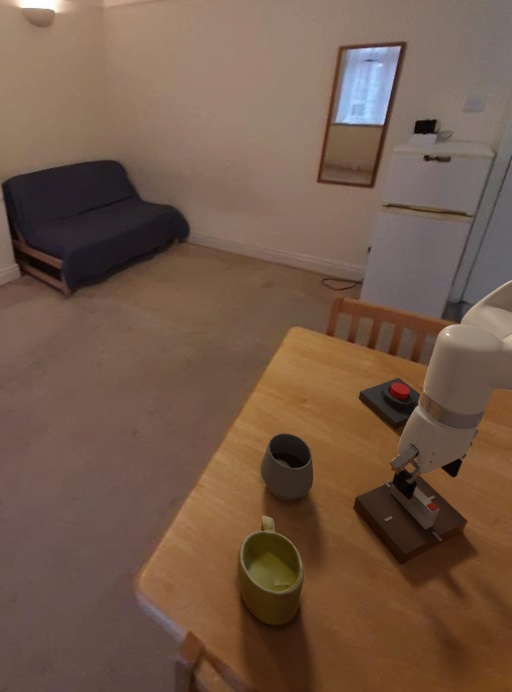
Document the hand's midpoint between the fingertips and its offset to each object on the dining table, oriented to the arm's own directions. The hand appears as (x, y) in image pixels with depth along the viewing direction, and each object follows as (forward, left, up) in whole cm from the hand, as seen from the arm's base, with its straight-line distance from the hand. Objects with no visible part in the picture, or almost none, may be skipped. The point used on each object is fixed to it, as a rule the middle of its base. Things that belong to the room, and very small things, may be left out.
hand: (424, 480), depth 67 cm
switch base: (+1, 0, -11) cm, 10 cm away
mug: (+29, -1, -11) cm, 31 cm away
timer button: (-19, -20, -7) cm, 29 cm away
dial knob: (+1, 0, -7) cm, 7 cm away
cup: (+17, -13, -11) cm, 24 cm away
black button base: (-19, -20, -11) cm, 30 cm away
